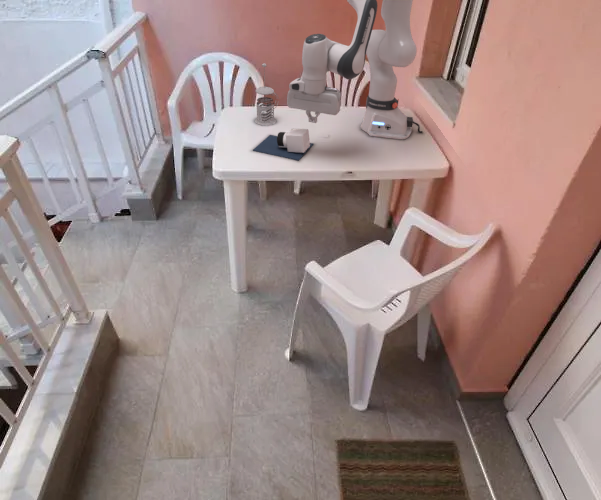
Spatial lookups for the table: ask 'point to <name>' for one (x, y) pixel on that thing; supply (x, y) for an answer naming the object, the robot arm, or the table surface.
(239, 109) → the table surface
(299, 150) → the medicine bottle
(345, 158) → the table surface
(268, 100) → the french press
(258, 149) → the mat
